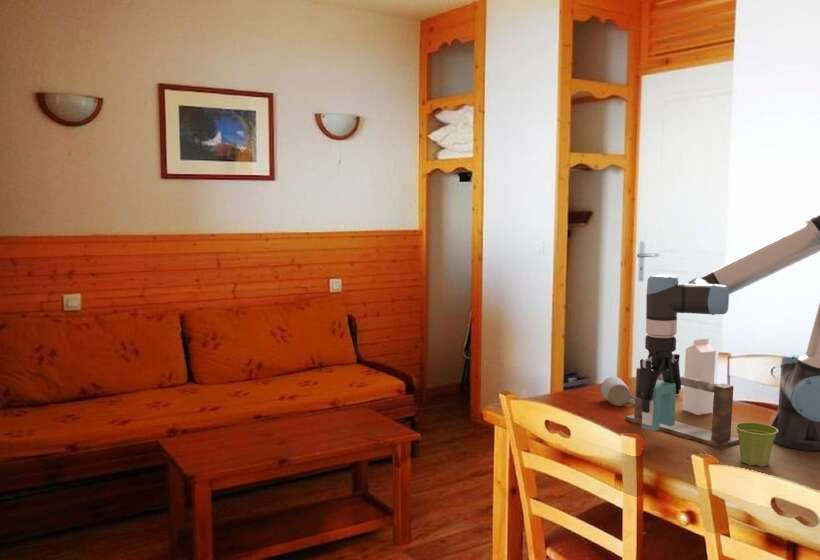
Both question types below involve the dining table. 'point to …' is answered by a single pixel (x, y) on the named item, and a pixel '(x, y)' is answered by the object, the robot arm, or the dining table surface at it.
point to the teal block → (663, 405)
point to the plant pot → (755, 442)
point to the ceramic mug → (616, 391)
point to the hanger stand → (720, 418)
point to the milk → (699, 377)
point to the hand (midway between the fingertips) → (658, 420)
